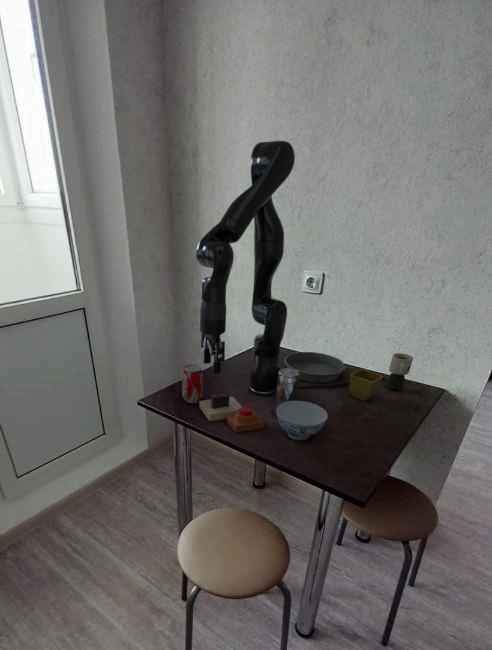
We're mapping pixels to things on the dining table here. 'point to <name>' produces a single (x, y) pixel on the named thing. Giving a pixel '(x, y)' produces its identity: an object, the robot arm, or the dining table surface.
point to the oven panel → (219, 409)
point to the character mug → (398, 370)
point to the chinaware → (301, 418)
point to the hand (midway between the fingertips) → (211, 368)
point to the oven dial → (219, 401)
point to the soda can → (192, 384)
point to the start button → (245, 411)
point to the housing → (244, 421)
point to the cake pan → (315, 366)
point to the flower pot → (364, 384)
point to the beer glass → (286, 386)
